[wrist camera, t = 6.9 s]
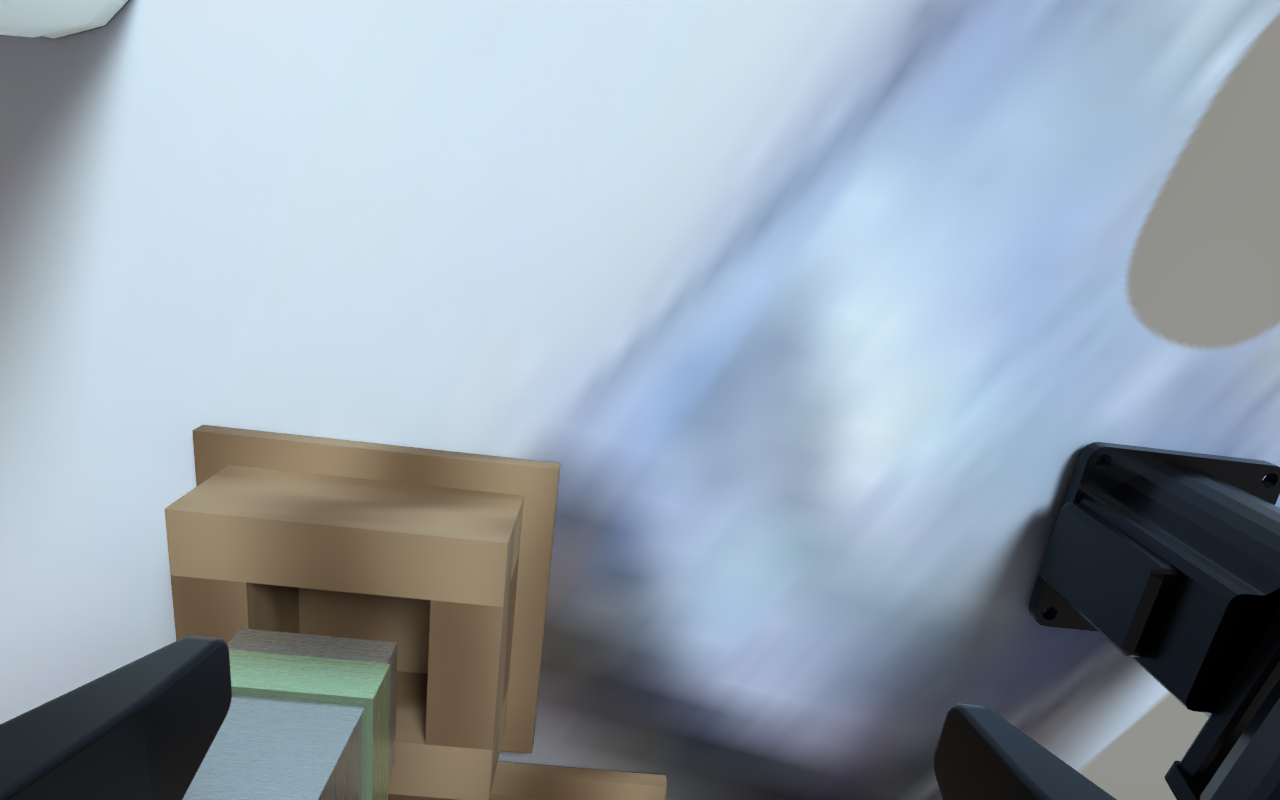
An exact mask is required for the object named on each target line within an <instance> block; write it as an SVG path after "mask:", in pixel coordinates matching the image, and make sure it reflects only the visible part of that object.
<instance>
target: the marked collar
mask: <svg viewBox="0 0 1280 800" xmlns="http://www.w3.org/2000/svg"><path fill="white" fill-rule="evenodd" d="M193 442H194V455H195V469H196V482H197V487H196V488H194V489H193V490H191V491H190V492H188V493H187V494H186V495H184V496H183V497H181V498H180V499H178V500H177V501H175V502H174V503H173V504H171V505H170V506H168V507H167V508H165V518H166V529H167V540H168V551H169V562H170V573H171V584H172V596H173V607H174V618H175V629H176V640H177V641H178V640H180V639H182V638H185V637H188V636H204V637H215V638H221V639H223V640H225V641H226V643H228V642H229V641H230V640H231V639H232V637H233V636H234V635H235V634H236V633H237V632H238V631H239V630H240V628H244V629H255V630H266V631H277V632H288V633H299V634H310V635H321V636H331V637H342V638H353V639H364V640H375V641H386V642H397V687H396V732H395V765H394V767H393V770H392V772H391V774H390V777H389V779H388V794H397V795H409V796H422V797H434V798H447V799H459V800H489V798H490V793H491V789H492V784H493V780H494V776H495V771H496V767H497V762H498V758H499V754H500V751H510V752H522V753H532V748H533V742H534V731H535V721H536V710H537V700H538V690H539V679H540V669H541V658H542V648H543V638H544V627H545V617H546V606H547V596H548V586H549V575H550V565H551V554H552V544H553V534H554V523H555V513H556V502H557V492H558V482H559V471H560V463H553V462H543V461H534V460H525V459H515V458H506V457H497V456H487V455H478V454H469V453H460V452H450V451H441V450H432V449H422V448H413V447H404V446H394V445H385V444H376V443H366V442H357V441H348V440H338V439H329V438H320V437H310V436H301V435H292V434H282V433H273V432H264V431H254V430H245V429H236V428H226V427H217V426H208V425H202V426H200V427H198V428H196V429H194V430H193Z"/></svg>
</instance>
